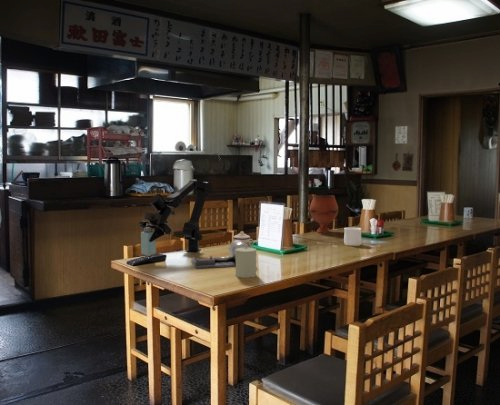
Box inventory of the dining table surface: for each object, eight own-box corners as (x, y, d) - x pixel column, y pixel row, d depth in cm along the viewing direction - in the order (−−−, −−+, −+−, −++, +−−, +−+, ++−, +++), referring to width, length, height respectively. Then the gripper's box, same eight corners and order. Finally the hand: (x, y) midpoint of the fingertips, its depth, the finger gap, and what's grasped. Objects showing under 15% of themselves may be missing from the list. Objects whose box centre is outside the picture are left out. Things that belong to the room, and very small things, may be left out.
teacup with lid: (239, 255, 253) (239, 233, 252) (230, 252, 261) (230, 231, 259) (258, 253, 260) (258, 231, 259) (248, 250, 267) (248, 229, 266)
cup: (362, 246, 280) (363, 229, 279) (345, 246, 280) (345, 229, 279) (359, 243, 289) (359, 227, 288) (342, 243, 290) (343, 227, 289)
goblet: (343, 232, 328) (344, 195, 326) (321, 235, 318) (322, 197, 316) (325, 228, 344) (325, 193, 342) (303, 231, 334) (304, 195, 332)
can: (255, 272, 217) (256, 246, 216) (256, 277, 208) (256, 250, 207) (235, 272, 217) (235, 246, 216) (235, 278, 208) (235, 250, 207)
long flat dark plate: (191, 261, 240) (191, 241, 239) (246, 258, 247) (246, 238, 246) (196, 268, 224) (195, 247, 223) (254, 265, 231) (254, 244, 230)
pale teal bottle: (149, 252, 244) (148, 226, 242) (155, 253, 241) (155, 227, 239) (141, 254, 240) (140, 228, 238) (148, 255, 237) (147, 229, 235)
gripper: (141, 205, 247) (124, 229, 239) (166, 207, 235) (149, 233, 228) (153, 218, 254) (137, 242, 246) (178, 221, 242) (162, 246, 235)
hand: (146, 241), depth 239 cm, fingers closed on pale teal bottle, 5 cm apart
